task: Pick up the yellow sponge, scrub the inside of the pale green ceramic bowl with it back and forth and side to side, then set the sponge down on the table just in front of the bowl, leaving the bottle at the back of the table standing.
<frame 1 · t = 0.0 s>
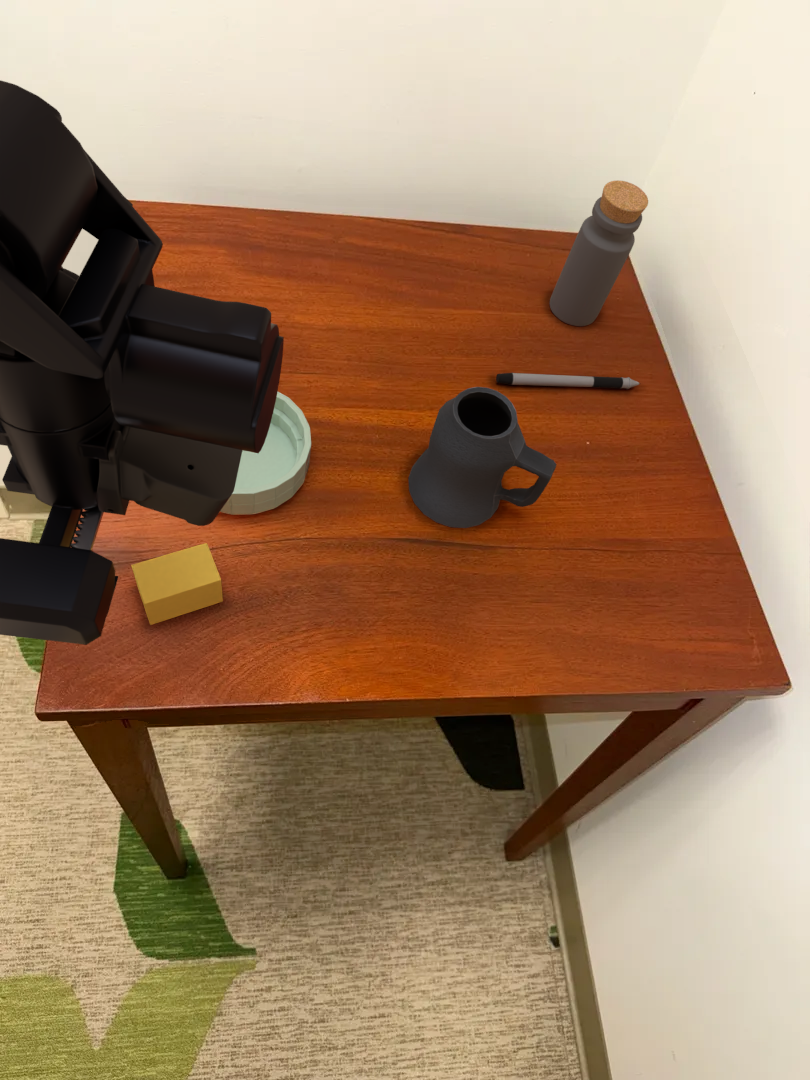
hand: (107, 548, 49), 14 cm above the table, tool pointing down, fingers open, 9 cm apart
bottle: (572, 309, 89), on the table
bowl: (241, 463, 71), on the table
mug: (467, 494, 73), on the table
pen: (566, 386, 83), on the table
sponge: (180, 594, 63), on the table
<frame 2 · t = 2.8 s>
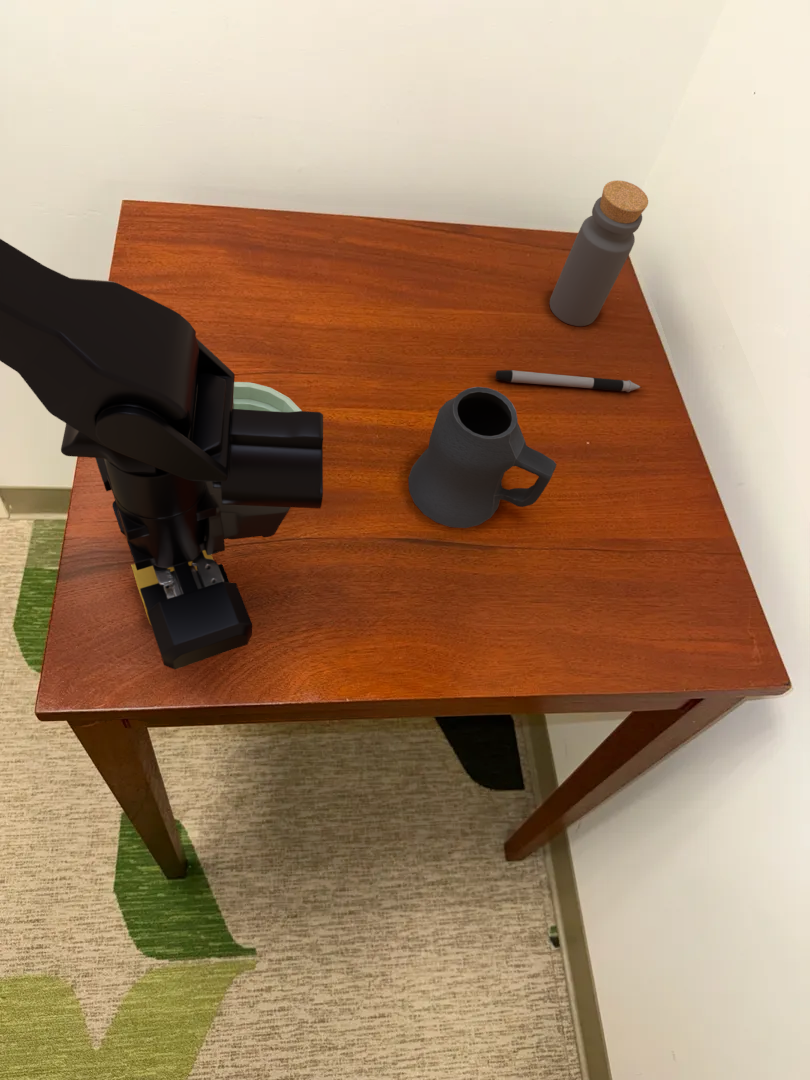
hand: (179, 589, 62), 1 cm above the table, tool pointing down, fingers closed on sponge, 3 cm apart
sponge: (180, 594, 63), on the table, touching gripper
everything else where it was.
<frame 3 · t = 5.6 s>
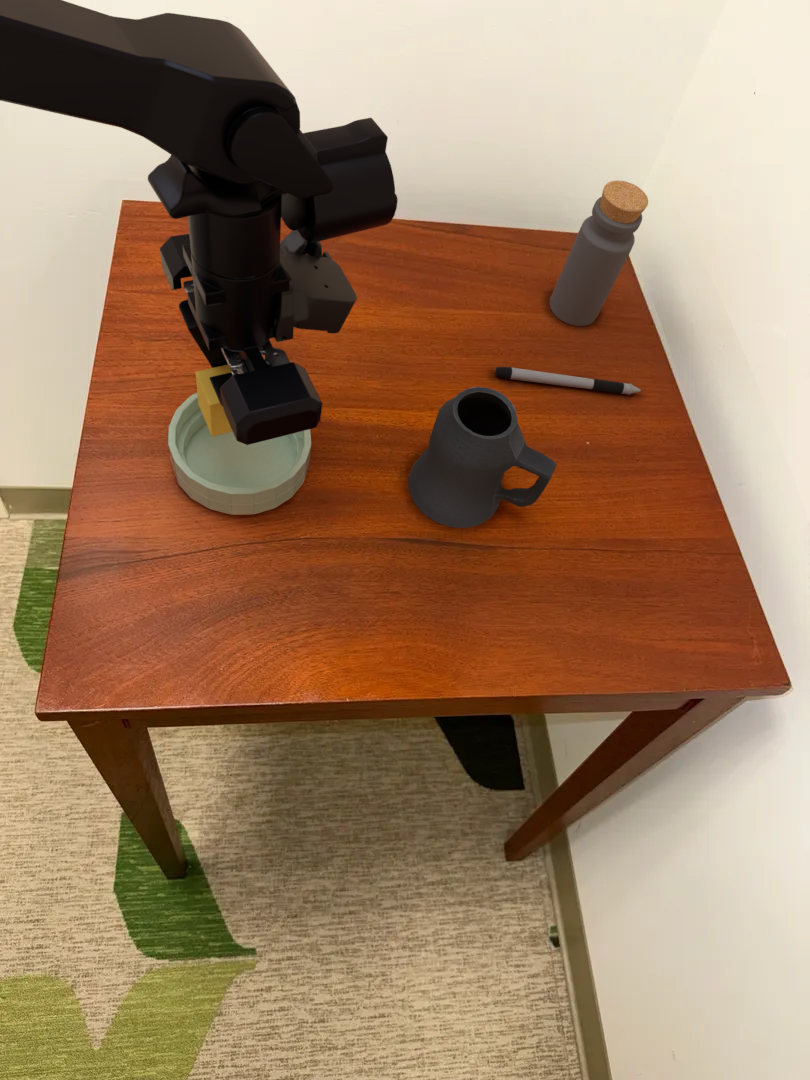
hand: (239, 404, 63), 8 cm above the table, tool pointing down, fingers closed on sponge, 3 cm apart
sponge: (240, 411, 64), point 7 cm above the table, touching gripper
everything else where it was.
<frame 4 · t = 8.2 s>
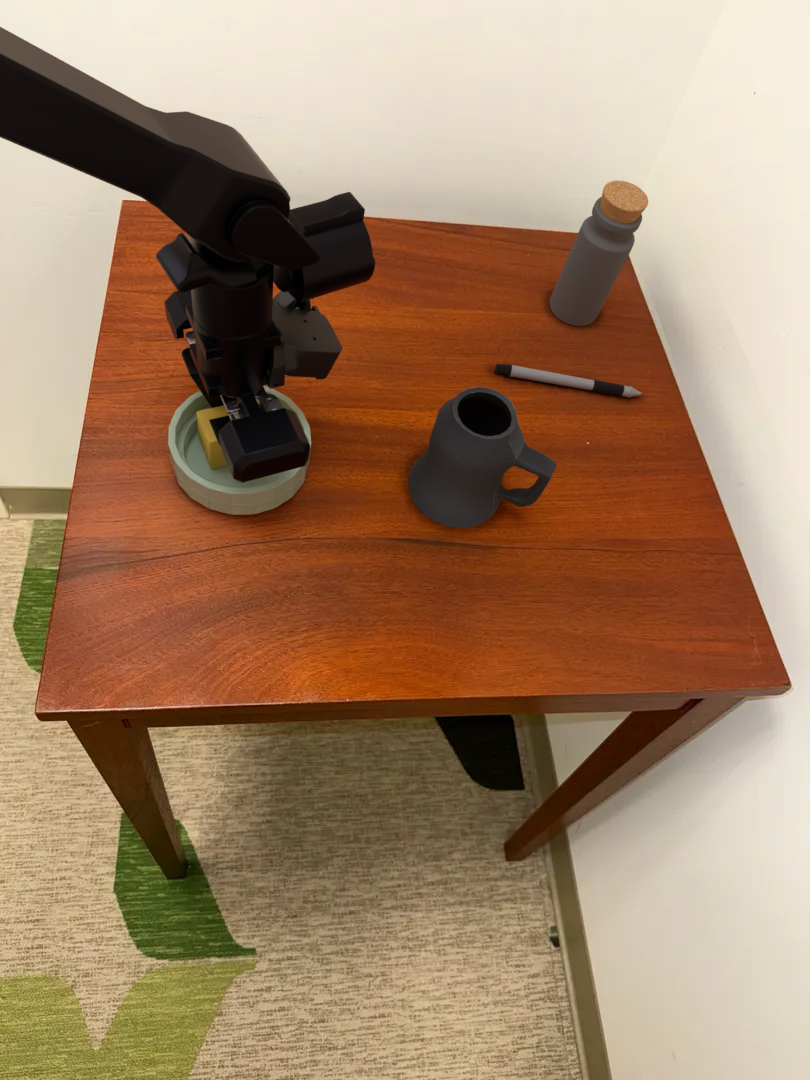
hand: (236, 440, 69), 2 cm above the table, tool pointing down, fingers closed on sponge, 3 cm apart
sponge: (237, 446, 70), point 1 cm above the table, touching gripper
everything else where it was.
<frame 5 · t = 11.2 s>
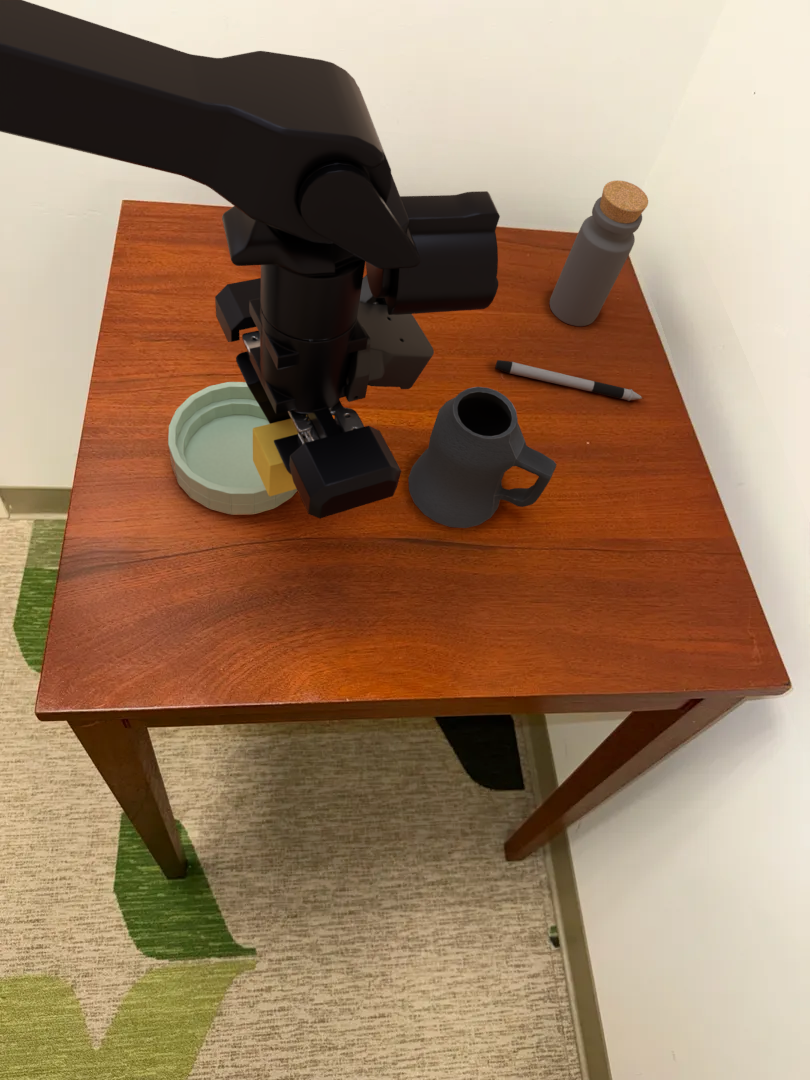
hand: (297, 460, 58), 11 cm above the table, tool pointing down, fingers closed on sponge, 3 cm apart
sponge: (297, 468, 59), point 10 cm above the table, touching gripper
everything else where it was.
when the fingers open (1 cm above the table, at t = 14.1 s): sponge stays where it is, on the table.
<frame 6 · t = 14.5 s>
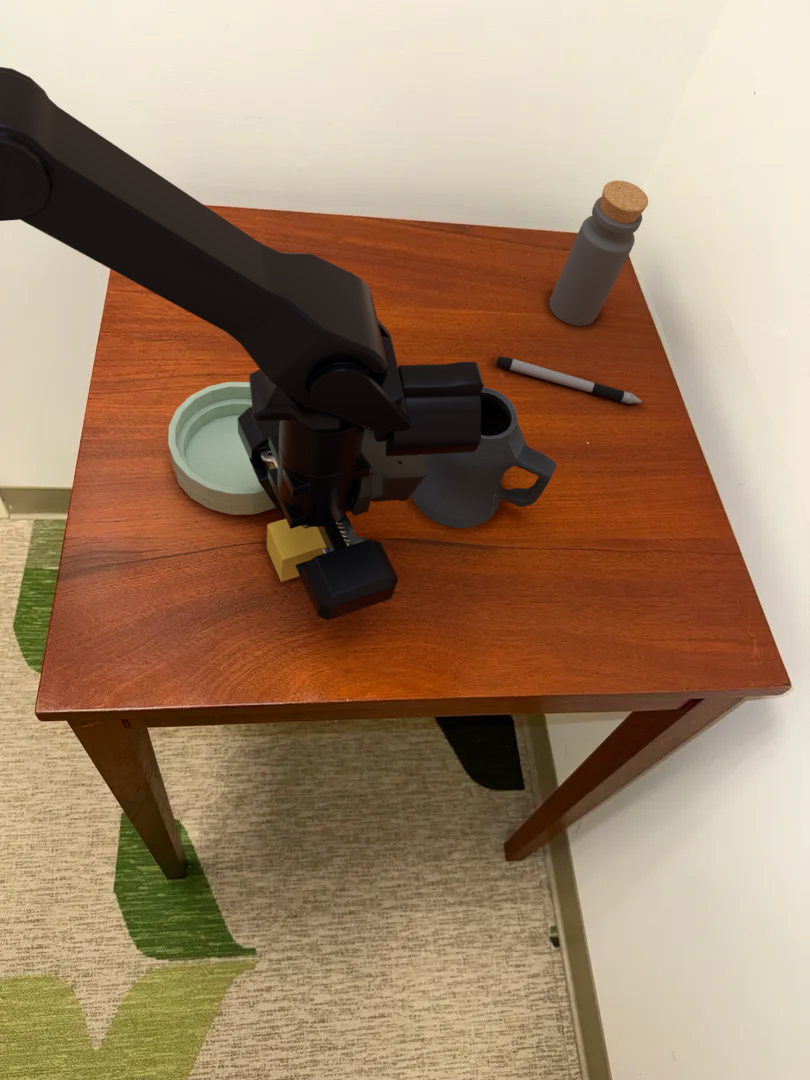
hand: (307, 554, 66), 1 cm above the table, tool pointing down, fingers open, 7 cm apart
sponge: (306, 554, 67), on the table
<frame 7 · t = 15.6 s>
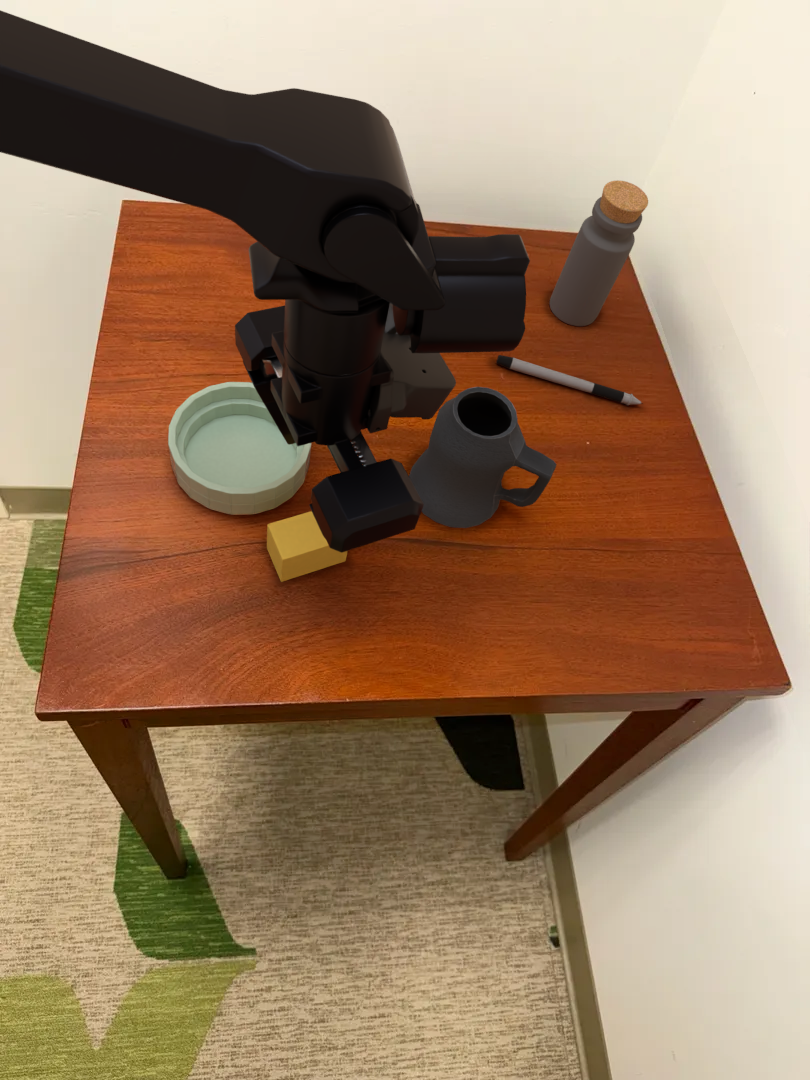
hand: (315, 488, 58), 11 cm above the table, tool pointing down, fingers open, 9 cm apart
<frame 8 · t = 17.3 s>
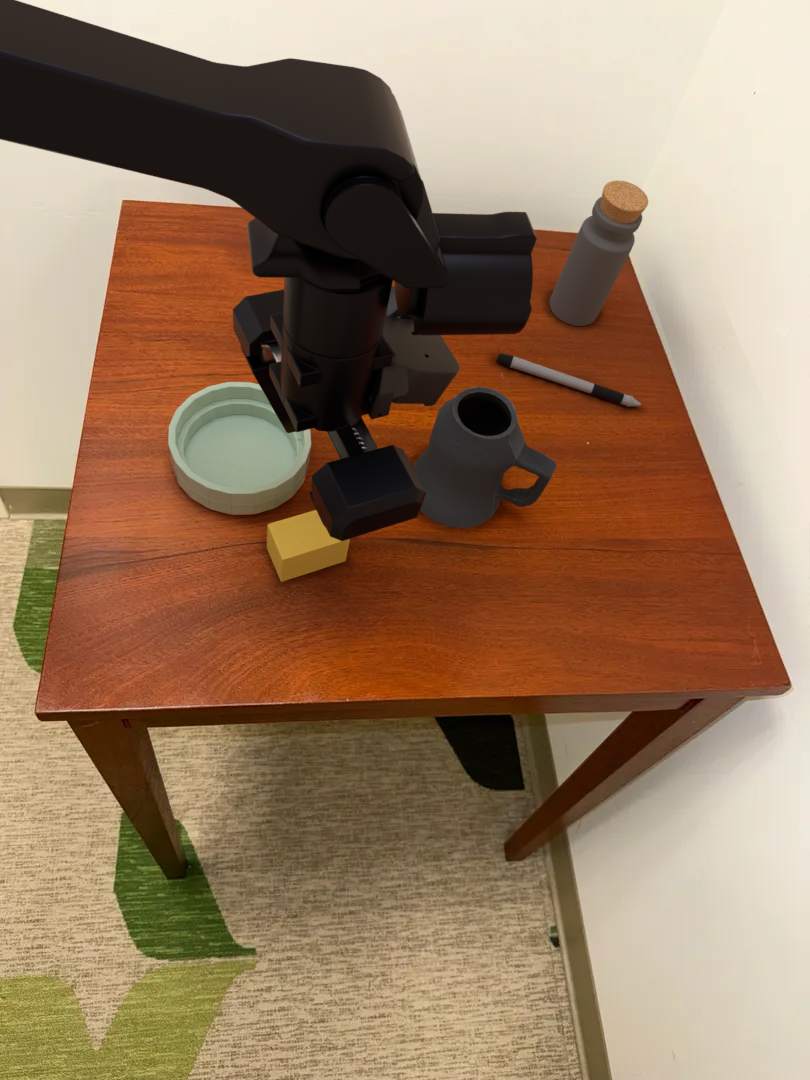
hand: (315, 477, 57), 12 cm above the table, tool pointing down, fingers open, 9 cm apart
at the end: sponge inside the target area on the table beside the bowl (0.1 cm from its centre), on the table; the gripper is holding nothing; bottle tilted 0° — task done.
